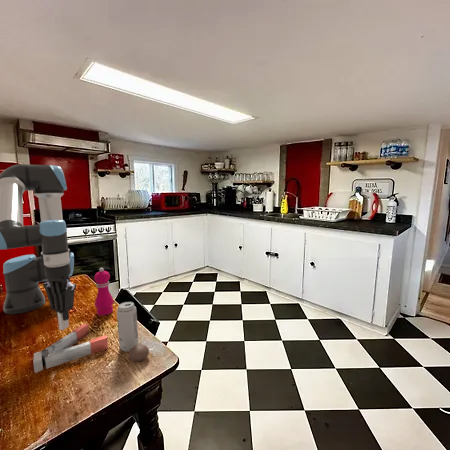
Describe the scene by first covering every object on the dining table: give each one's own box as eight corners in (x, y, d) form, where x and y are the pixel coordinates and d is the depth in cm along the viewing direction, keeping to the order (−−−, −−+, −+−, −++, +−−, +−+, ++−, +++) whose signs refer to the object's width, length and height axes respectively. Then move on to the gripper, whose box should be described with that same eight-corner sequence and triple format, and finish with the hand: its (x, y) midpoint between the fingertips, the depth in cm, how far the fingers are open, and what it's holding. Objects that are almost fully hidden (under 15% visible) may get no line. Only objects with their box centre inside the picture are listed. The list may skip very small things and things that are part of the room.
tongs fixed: (34, 373, 74) (32, 359, 73) (35, 363, 78) (33, 350, 77) (108, 348, 85) (107, 335, 84) (105, 341, 89) (104, 329, 88)
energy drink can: (120, 343, 87) (117, 302, 85) (138, 340, 89) (136, 299, 87) (118, 354, 82) (115, 310, 80) (138, 350, 83) (135, 307, 81)
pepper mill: (107, 316, 106) (103, 270, 103) (92, 315, 107) (87, 270, 105) (117, 308, 113) (114, 265, 110) (103, 307, 114) (99, 264, 112)
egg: (125, 360, 79) (124, 348, 78) (141, 350, 84) (140, 339, 83) (137, 367, 75) (136, 355, 75) (153, 357, 80) (152, 345, 80)
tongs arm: (48, 361, 78) (46, 350, 78) (43, 360, 79) (41, 349, 78) (89, 333, 93) (88, 324, 93) (85, 333, 94) (84, 323, 94)
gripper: (32, 266, 86) (40, 331, 89) (61, 268, 83) (69, 336, 86) (53, 260, 93) (59, 320, 96) (80, 262, 90) (87, 325, 93)
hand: (64, 328), depth 91 cm, fingers closed
